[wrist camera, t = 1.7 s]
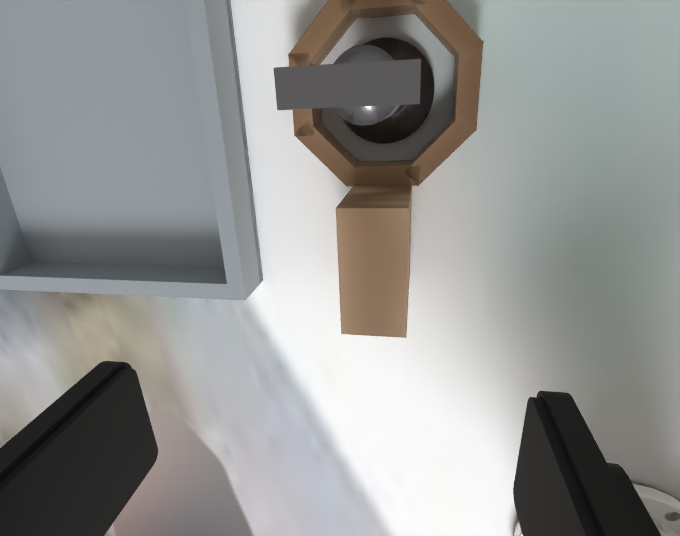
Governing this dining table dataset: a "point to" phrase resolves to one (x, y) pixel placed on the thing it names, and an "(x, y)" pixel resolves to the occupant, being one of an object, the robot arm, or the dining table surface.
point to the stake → (365, 89)
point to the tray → (124, 150)
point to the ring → (383, 166)
